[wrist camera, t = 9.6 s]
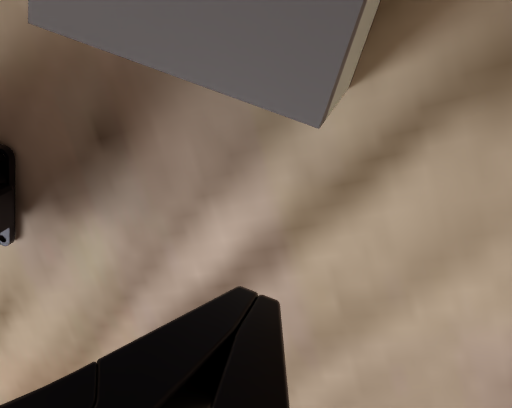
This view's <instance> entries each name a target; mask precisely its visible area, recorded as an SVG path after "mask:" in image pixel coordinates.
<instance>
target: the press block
mask: <svg viewBox="0 0 512 408" xmlns="http://www.w3.org/2000/svg"><path fill="white" fill-rule="evenodd" d="M379 3H380V0H28V23H29V24H32V25H35V26H38V27H40V28H43V29H46V30H49V31H51V32H54V33H57V34H60V35H62V36H65V37H68V38H71V39H73V40H76V41H79V42H82V43H84V44H87V45H90V46H93V47H95V48H98V49H101V50H104V51H106V52H109V53H112V54H115V55H117V56H120V57H123V58H126V59H128V60H131V61H134V62H137V63H139V64H142V65H145V66H148V67H150V68H153V69H156V70H159V71H161V72H164V73H167V74H170V75H172V76H175V77H178V78H181V79H183V80H186V81H189V82H192V83H194V84H197V85H200V86H203V87H205V88H208V89H211V90H214V91H216V92H219V93H222V94H225V95H227V96H230V97H233V98H236V99H238V100H241V101H244V102H247V103H249V104H252V105H255V106H258V107H260V108H263V109H266V110H269V111H271V112H274V113H277V114H280V115H282V116H285V117H288V118H291V119H293V120H296V121H299V122H302V123H304V124H307V125H310V126H313V127H315V128H318V129H319V128H320V127H321V125H322V124H323V123H324V121H325V120H326V119H327V117H328V116H329V115H330V113H331V112H332V110H333V109H334V108H335V106H336V105H337V104H338V102H339V101H340V100H341V98H342V97H343V96H344V94H345V93H346V91H347V90H348V88H349V85H350V83H351V80H352V77H353V74H354V72H355V69H356V66H357V63H358V61H359V58H360V55H361V52H362V49H363V47H364V44H365V41H366V38H367V36H368V33H369V30H370V27H371V25H372V22H373V19H374V16H375V14H376V11H377V8H378V5H379Z"/></svg>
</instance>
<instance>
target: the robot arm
mask: <svg viewBox="0 0 512 408" xmlns="http://www.w3.org/2000/svg"><path fill="white" fill-rule="evenodd" d="M14 239H15V156H14V153H13V151H12V150H11V149H10V148H9V147H7V146H5V145H2V144H0V245H3V246H8V245H10V244H11V243H13V242H14ZM0 408H289V397H288V386H287V376H286V365H285V354H284V343H283V333H282V322H281V311H280V304H279V302H278V301H277V300H275V299H272V298H270V297H267V296H265V295H259V296H258V294H257V293H256V292H254V291H252V290H249V289H247V288H244V287H241V286H239V287H236V288H234V289H232V290H230V291H228V292H226V293H224V294H222V295H220V296H219V297H217V298H215V299H213V300H211V301H209V302H207V303H205V304H203V305H201V306H199V307H198V308H196V309H194V310H192V311H190V312H188V313H186V314H184V315H182V316H180V317H178V318H177V319H175V320H173V321H171V322H169V323H167V324H165V325H163V326H161V327H159V328H157V329H156V330H154V331H152V332H150V333H148V334H146V335H144V336H142V337H140V338H138V339H136V340H134V341H133V342H131V343H129V344H127V345H125V346H123V347H121V348H119V349H117V350H115V351H113V352H112V353H110V354H108V355H106V356H104V357H102V358H100V359H98V361H97V363H96V362H92V363H90V364H88V365H86V366H84V367H83V368H81V369H79V370H77V371H75V372H73V373H71V374H69V375H67V376H65V377H63V378H61V379H59V380H56V381H54V382H52V383H50V384H48V385H46V386H44V387H42V388H40V389H37V390H35V391H33V392H30V393H28V394H26V395H23V396H21V397H19V398H16V399H14V400H12V401H10V402H7V403H5V404H2V405H0Z"/></svg>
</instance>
